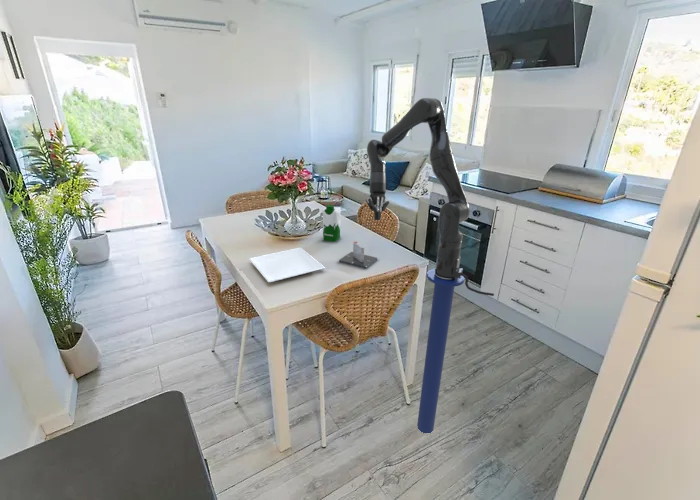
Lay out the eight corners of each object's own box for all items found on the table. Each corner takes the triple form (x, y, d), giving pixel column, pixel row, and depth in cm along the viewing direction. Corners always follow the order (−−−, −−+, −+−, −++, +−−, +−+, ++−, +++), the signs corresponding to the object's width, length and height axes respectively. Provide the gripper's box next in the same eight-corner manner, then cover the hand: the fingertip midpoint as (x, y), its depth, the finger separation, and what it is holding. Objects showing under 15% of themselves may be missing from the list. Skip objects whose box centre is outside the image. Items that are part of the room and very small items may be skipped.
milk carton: (321, 241, 188) (320, 206, 180) (327, 236, 196) (327, 201, 188) (336, 244, 186) (336, 207, 178) (342, 238, 194) (342, 203, 186)
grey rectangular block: (363, 261, 161) (364, 247, 158) (360, 262, 161) (361, 247, 158) (356, 255, 168) (356, 241, 165) (353, 255, 167) (353, 241, 164)
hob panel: (377, 260, 167) (377, 257, 166) (365, 269, 157) (365, 266, 156) (351, 254, 173) (351, 251, 172) (338, 263, 163) (338, 259, 162)
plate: (325, 271, 154) (325, 267, 153) (268, 286, 141) (268, 281, 140) (300, 250, 174) (300, 246, 173) (249, 262, 161) (248, 258, 160)
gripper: (371, 179, 156) (371, 218, 155) (393, 183, 164) (393, 220, 163) (361, 182, 162) (361, 219, 162) (383, 186, 170) (383, 221, 169)
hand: (377, 220), depth 162 cm, fingers closed
